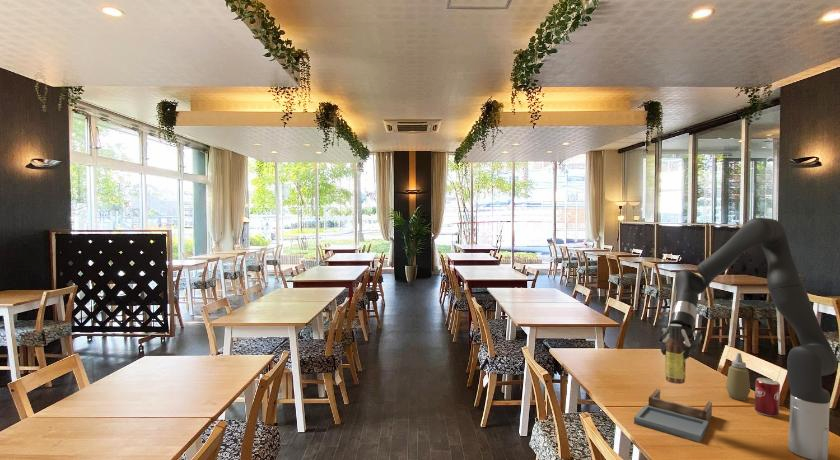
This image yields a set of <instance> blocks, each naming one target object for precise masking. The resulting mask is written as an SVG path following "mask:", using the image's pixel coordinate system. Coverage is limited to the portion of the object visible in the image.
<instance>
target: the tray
mask: <svg viewBox="0 0 840 460" xmlns="http://www.w3.org/2000/svg"><path fill="white" fill-rule="evenodd" d="M633 424H635V425H639V426H643V427H646V428H649V429H653V430H655V431H656V430H657V431H660V432H663V433H667V434H669V433H670V435H673V436H675V437H680V438H683V439H687V440H690V441H693V442H697V443H701V442H702V440H703V438H704V436H705V435H706V432H707V430H708V429H709V421H705V420H701V419H698V418H694V417H690V416H686V415H682V414H678V413H675V412H671V411H667V410H663V409H659V408H656V407H652V406H649V404H648V405H647V404H645V405H644V406H643V407H642V408H641V409H640V410H639V412H637V414H636V415H634V416H633Z"/></svg>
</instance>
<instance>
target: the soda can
mask: <svg viewBox="0 0 840 460" xmlns="http://www.w3.org/2000/svg"><path fill="white" fill-rule="evenodd" d="M754 382H755V383H754V384H755V385H754V387H755V389H754V410H755V412H756V413H758V414H759V415H763V416H767V417H777V416H779V415H780V397H781V395H780V394H781V384H780V382H779V381H777V380H774V379H771V378H765V377H757V378H756V379H755V381H754Z"/></svg>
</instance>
